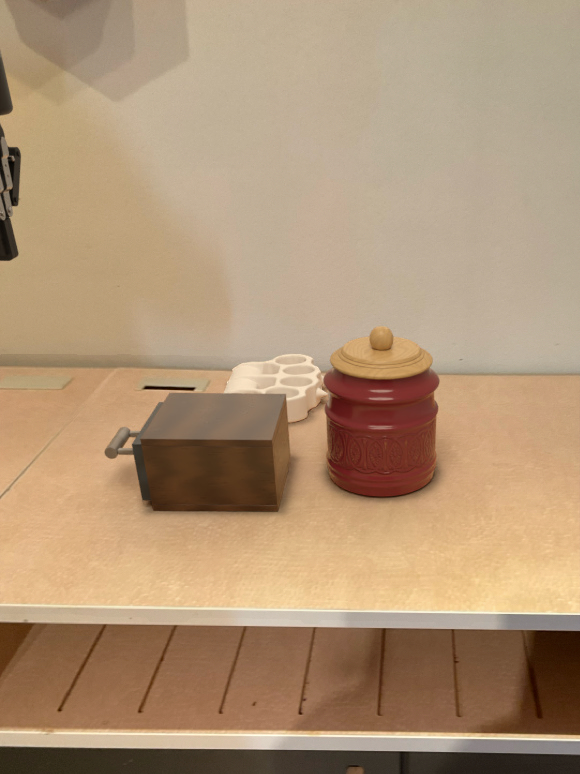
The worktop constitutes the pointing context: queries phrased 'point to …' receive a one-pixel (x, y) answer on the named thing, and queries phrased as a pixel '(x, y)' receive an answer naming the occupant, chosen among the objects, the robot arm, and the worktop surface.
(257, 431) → the cabinet
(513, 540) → the worktop surface
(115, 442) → the drawer
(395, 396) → the kitchen canister
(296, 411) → the white egg tray
